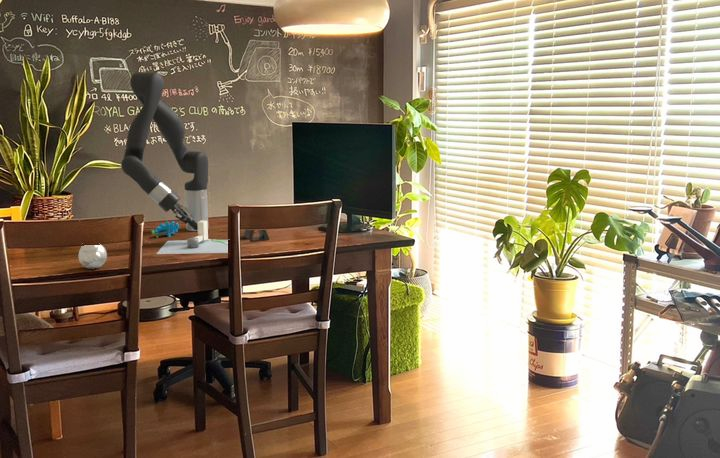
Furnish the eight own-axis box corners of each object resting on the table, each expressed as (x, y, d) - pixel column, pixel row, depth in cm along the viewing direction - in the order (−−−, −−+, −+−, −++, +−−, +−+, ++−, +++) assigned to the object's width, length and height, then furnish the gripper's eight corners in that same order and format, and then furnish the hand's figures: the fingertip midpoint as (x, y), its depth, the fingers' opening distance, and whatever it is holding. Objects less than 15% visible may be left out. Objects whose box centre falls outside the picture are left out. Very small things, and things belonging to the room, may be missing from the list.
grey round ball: (71, 270, 233) (69, 240, 232) (93, 264, 242) (91, 235, 240) (93, 273, 230) (90, 242, 228) (114, 267, 238) (112, 237, 237)
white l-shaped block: (196, 248, 261) (195, 227, 260) (185, 247, 262) (184, 226, 261) (212, 239, 277) (211, 219, 276) (202, 239, 278) (201, 219, 276)
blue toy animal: (178, 231, 292) (178, 217, 284) (182, 243, 289) (183, 229, 281) (150, 237, 287) (150, 223, 279) (155, 249, 285) (155, 235, 277)
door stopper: (247, 242, 280) (246, 211, 278) (242, 239, 285) (241, 209, 283) (269, 240, 284) (268, 210, 282) (264, 237, 289) (263, 208, 287)
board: (168, 243, 277) (167, 239, 277) (236, 242, 279) (235, 238, 279) (156, 257, 253) (155, 253, 252) (230, 256, 255) (230, 251, 255)
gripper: (168, 192, 263) (202, 224, 266) (174, 187, 276) (207, 218, 279) (153, 206, 264) (188, 238, 267) (160, 201, 276) (193, 232, 280)
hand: (198, 228), depth 273 cm, fingers closed
